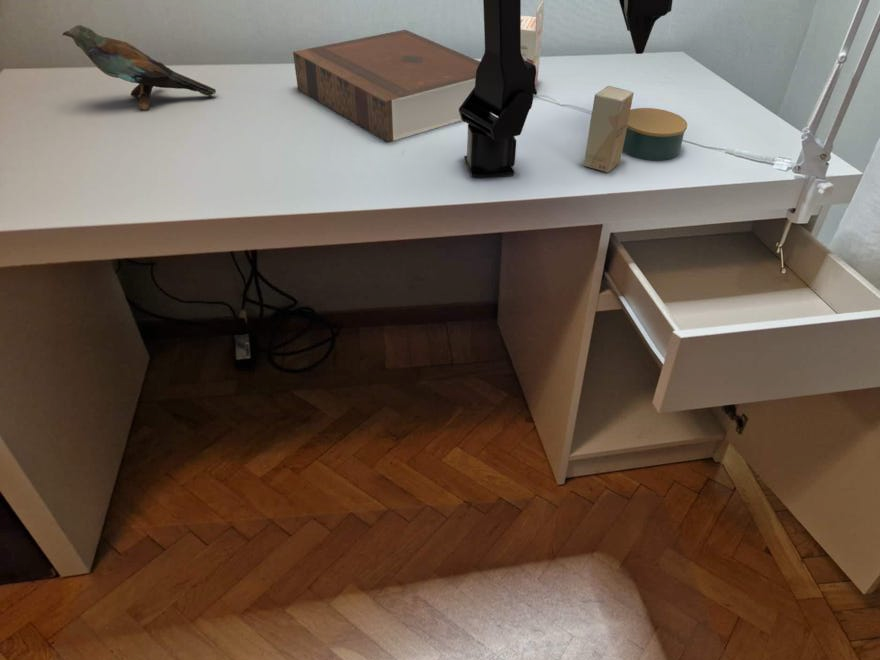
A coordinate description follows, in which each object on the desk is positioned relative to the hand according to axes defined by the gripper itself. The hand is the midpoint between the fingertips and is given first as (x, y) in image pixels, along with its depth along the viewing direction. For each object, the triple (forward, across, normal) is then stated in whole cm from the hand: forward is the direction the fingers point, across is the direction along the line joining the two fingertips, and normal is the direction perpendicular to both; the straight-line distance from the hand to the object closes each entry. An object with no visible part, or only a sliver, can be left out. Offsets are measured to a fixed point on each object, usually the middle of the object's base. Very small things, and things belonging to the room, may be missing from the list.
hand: (634, 41), depth 108 cm
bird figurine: (+6, +3, +82) cm, 82 cm away
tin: (+14, -7, -2) cm, 16 cm away
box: (+13, -14, +6) cm, 20 cm away
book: (+11, +8, +40) cm, 42 cm away
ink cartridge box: (+14, +17, +18) cm, 28 cm away
